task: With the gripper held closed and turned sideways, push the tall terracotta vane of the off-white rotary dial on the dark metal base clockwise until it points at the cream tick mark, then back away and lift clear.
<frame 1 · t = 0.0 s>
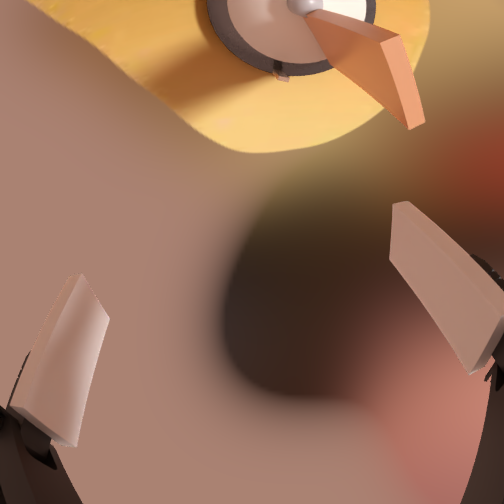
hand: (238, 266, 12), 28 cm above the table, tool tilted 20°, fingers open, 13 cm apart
dial: (331, 12, 17), point 10 cm above the table, hinge at 0.0°
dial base: (294, 1, 23), on the table
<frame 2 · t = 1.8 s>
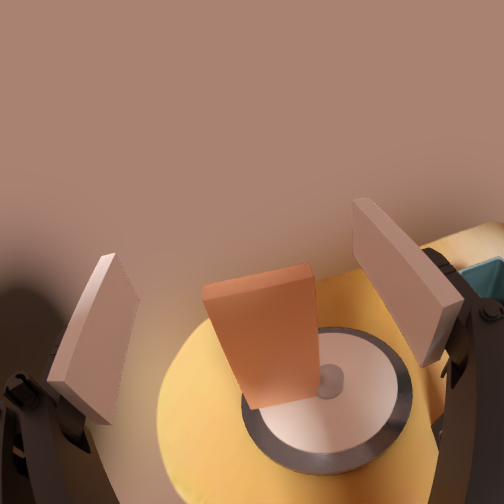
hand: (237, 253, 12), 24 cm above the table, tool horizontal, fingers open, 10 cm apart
flower pot: (477, 335, 30), on the table
dial: (323, 345, 24), point 10 cm above the table, hinge at 0.0°
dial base: (327, 396, 30), on the table
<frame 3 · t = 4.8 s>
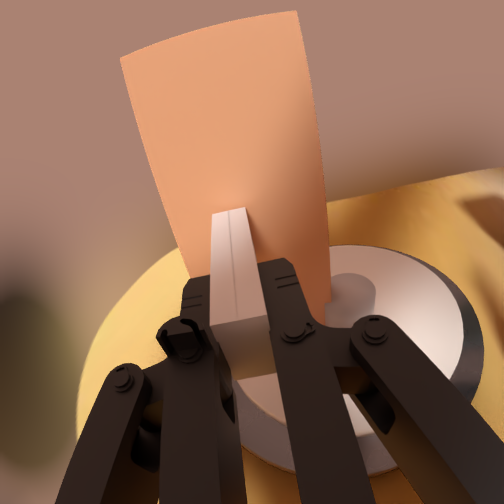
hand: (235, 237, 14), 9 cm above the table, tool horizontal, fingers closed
dial: (338, 201, 13), point 10 cm above the table, hinge at -12.5°, touching gripper
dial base: (346, 340, 19), on the table
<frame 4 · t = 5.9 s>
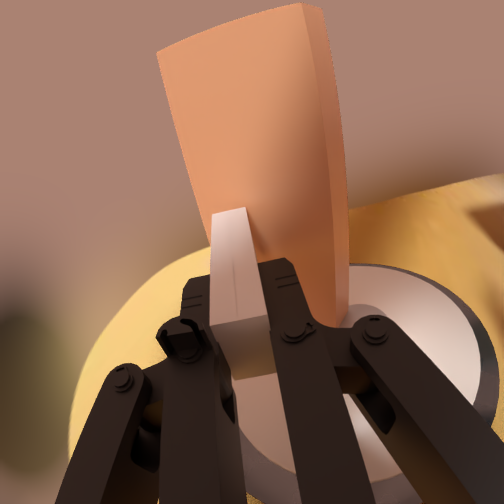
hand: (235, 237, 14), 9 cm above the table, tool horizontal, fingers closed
dial: (355, 229, 11), point 10 cm above the table, hinge at -42.2°, touching gripper
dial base: (354, 373, 16), on the table
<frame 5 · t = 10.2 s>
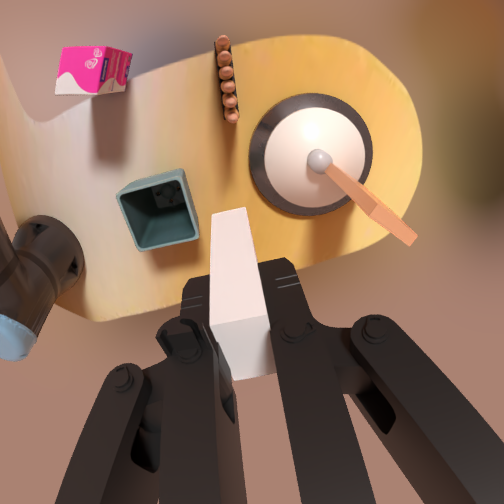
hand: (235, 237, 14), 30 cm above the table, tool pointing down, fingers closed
flower pot: (168, 190, 43), on the table
supplement box: (112, 71, 32), on the table
dial: (338, 177, 34), point 10 cm above the table, hinge at -42.2°
ammunition clip: (225, 79, 35), on the table
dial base: (312, 155, 42), on the table
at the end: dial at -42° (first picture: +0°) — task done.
